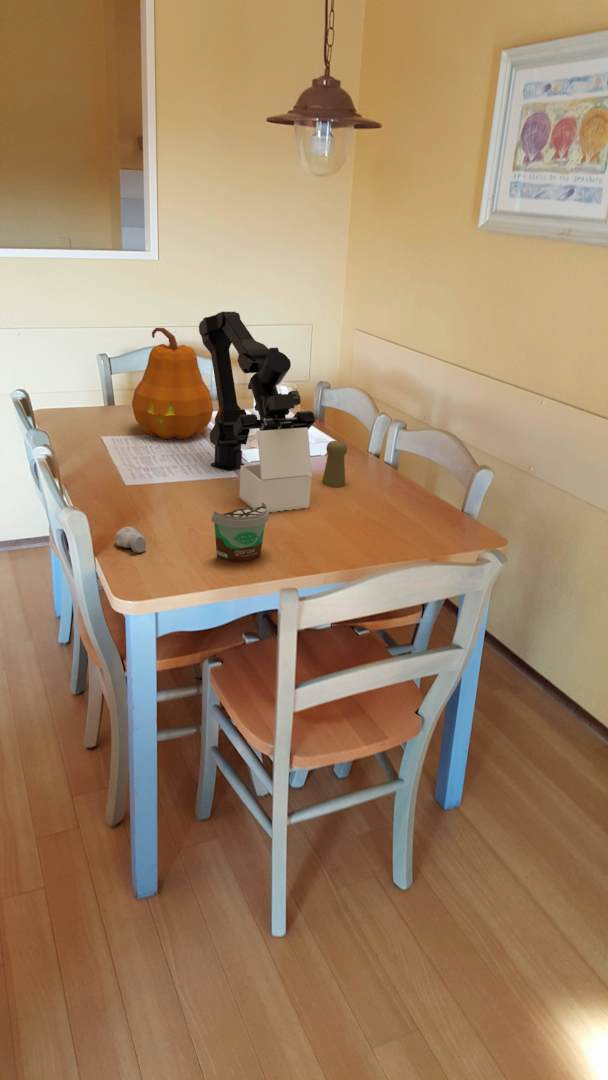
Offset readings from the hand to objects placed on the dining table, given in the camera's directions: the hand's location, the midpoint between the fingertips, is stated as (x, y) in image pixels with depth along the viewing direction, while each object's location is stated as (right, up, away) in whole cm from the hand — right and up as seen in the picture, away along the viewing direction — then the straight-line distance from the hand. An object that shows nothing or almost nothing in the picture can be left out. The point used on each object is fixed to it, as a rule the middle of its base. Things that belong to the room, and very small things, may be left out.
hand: (284, 456), depth 185 cm
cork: (+12, -5, +24) cm, 27 cm away
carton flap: (0, +1, 0) cm, 1 cm away
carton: (-3, -10, +8) cm, 13 cm away
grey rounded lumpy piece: (-31, -21, -21) cm, 42 cm away
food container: (-7, -23, -22) cm, 32 cm away
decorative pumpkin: (-34, +12, +55) cm, 66 cm away
